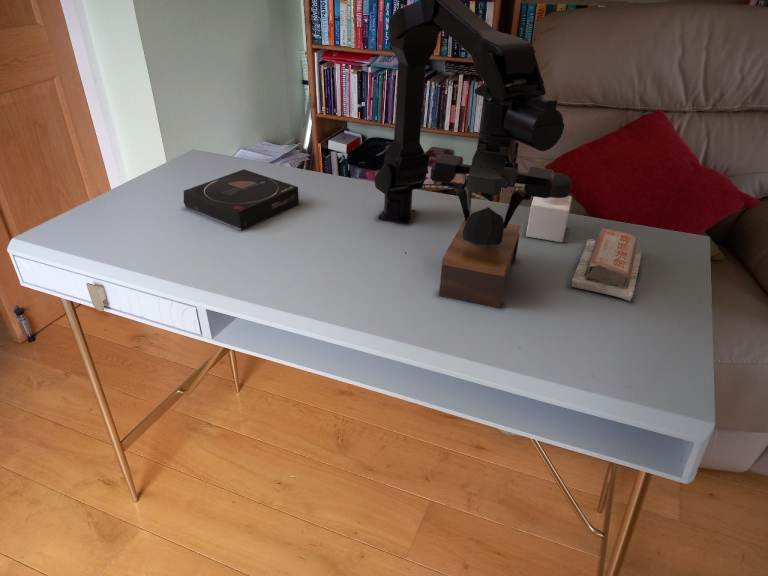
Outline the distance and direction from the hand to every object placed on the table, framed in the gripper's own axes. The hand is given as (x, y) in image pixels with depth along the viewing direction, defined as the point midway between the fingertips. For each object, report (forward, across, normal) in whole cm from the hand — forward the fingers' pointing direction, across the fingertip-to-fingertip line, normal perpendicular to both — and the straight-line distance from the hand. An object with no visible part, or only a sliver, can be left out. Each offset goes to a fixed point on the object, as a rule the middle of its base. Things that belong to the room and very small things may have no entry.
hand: (485, 224), depth 97 cm
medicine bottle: (+10, +9, +22) cm, 26 cm away
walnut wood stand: (+10, 0, 0) cm, 10 cm away
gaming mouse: (+1, 0, 0) cm, 1 cm away
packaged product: (+10, +21, +10) cm, 26 cm away
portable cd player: (+10, -53, +10) cm, 55 cm away
